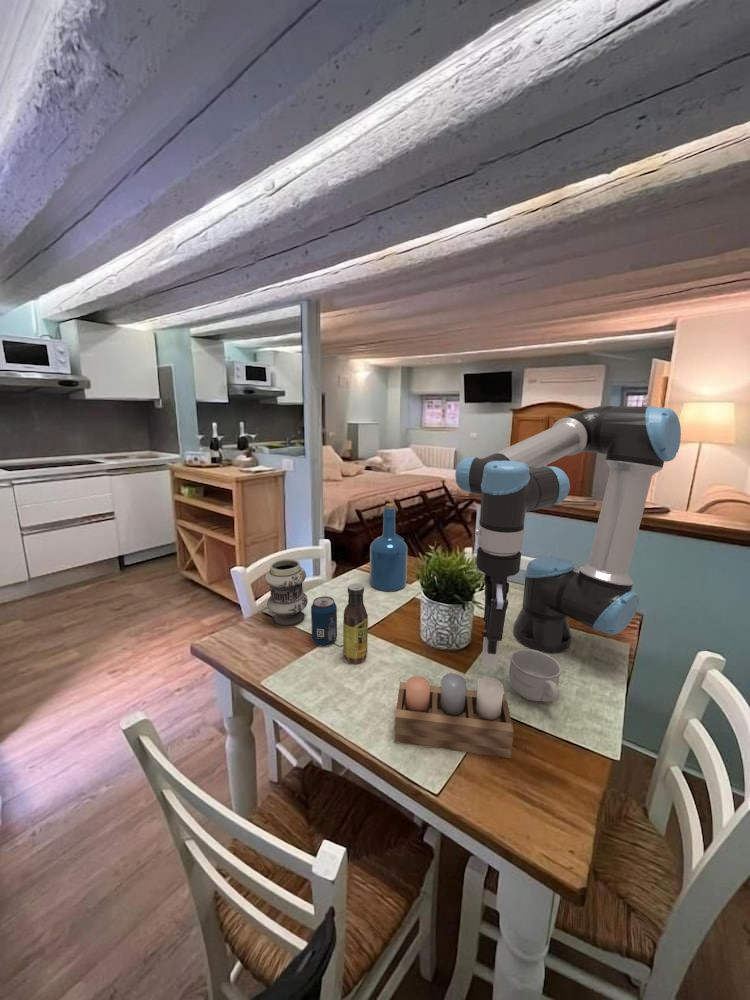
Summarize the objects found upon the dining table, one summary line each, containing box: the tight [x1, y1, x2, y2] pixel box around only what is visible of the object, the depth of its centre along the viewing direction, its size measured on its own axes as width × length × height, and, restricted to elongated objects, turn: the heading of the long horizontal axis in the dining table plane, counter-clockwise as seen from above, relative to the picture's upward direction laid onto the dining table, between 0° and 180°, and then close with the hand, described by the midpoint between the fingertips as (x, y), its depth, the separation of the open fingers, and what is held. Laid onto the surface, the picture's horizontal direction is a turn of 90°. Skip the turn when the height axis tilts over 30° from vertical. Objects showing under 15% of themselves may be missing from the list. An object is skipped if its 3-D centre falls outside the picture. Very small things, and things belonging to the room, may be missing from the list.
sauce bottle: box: [342, 583, 369, 665], centre depth 103 cm, size 6×6×20 cm
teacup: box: [508, 648, 562, 702], centre depth 92 cm, size 14×11×8 cm
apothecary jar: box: [265, 558, 309, 629], centre depth 122 cm, size 12×12×18 cm
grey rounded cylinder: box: [440, 672, 467, 716], centre depth 81 cm, size 5×5×6 cm
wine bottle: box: [369, 503, 409, 592], centre depth 144 cm, size 14×13×30 cm
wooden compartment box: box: [393, 681, 515, 759], centre depth 82 cm, size 22×10×6 cm, turn 81°
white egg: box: [476, 676, 504, 721], centre depth 80 cm, size 5×5×6 cm
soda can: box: [310, 595, 338, 647], centre depth 112 cm, size 7×7×12 cm
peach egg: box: [405, 675, 431, 713], centre depth 82 cm, size 5×5×6 cm
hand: (489, 663), depth 78 cm, fingers closed
